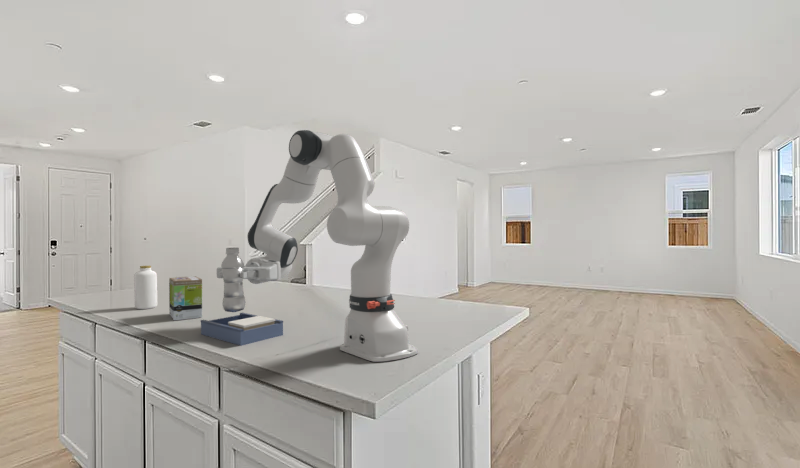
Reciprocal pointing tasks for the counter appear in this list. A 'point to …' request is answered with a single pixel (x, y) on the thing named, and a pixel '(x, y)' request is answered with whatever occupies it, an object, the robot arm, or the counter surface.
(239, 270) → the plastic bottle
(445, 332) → the counter surface
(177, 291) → the tea box
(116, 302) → the counter surface
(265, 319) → the carton
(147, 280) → the potion bottle
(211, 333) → the tote
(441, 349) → the counter surface
